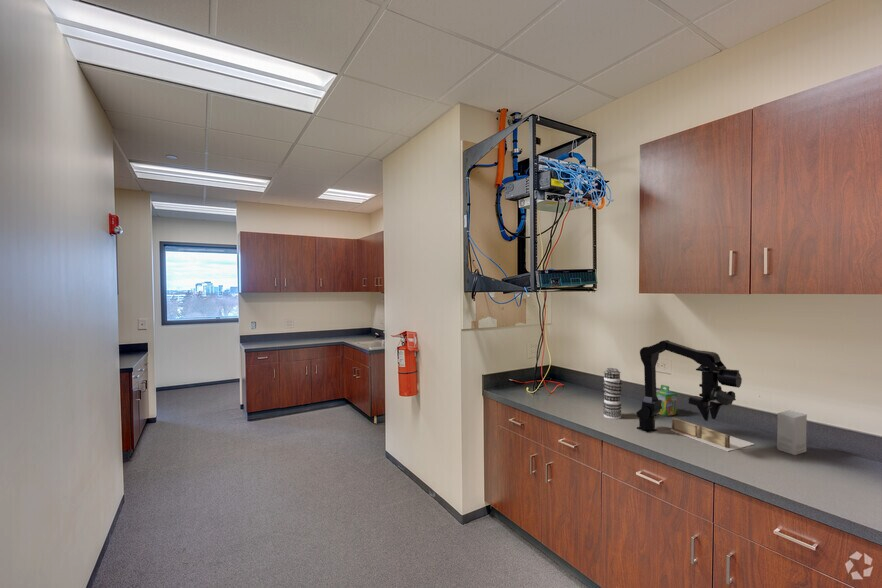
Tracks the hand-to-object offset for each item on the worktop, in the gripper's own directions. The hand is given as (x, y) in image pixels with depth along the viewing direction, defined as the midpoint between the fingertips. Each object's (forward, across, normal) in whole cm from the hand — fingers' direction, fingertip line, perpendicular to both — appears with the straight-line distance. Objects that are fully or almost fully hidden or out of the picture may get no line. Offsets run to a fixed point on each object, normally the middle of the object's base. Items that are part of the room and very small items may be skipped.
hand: (709, 419), depth 164 cm
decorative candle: (+12, -6, +47) cm, 49 cm away
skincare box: (+12, +28, -15) cm, 34 cm away
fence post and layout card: (+12, +12, +9) cm, 19 cm away
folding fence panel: (+11, +6, +2) cm, 13 cm away
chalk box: (+12, +24, +40) cm, 48 cm away
